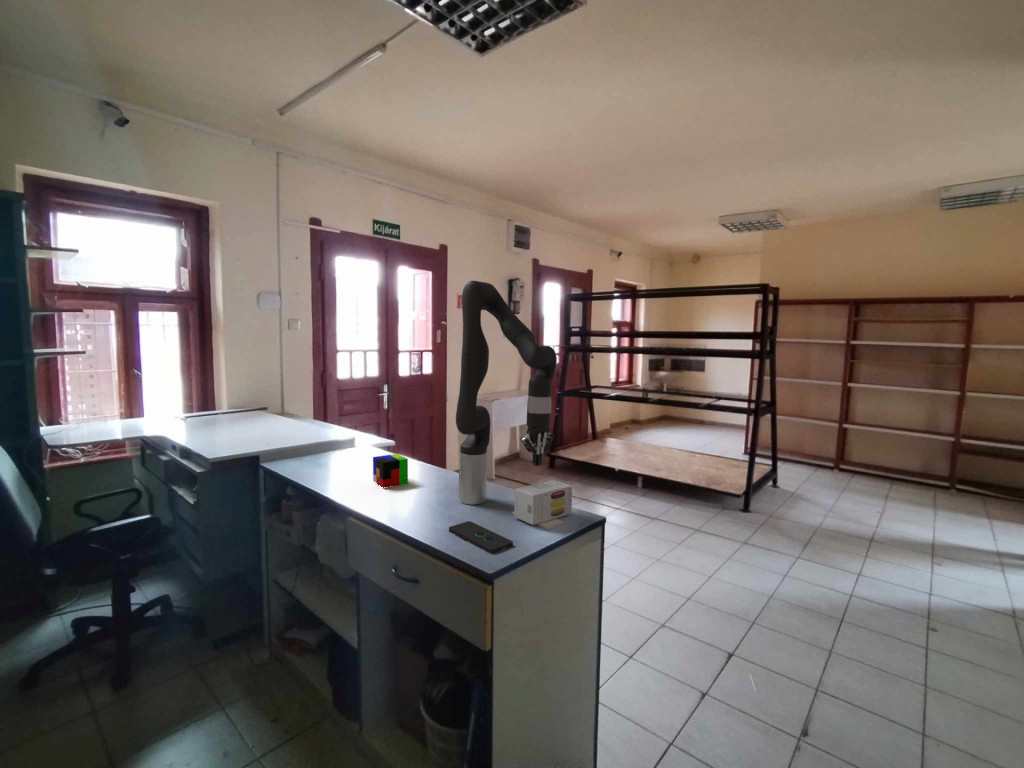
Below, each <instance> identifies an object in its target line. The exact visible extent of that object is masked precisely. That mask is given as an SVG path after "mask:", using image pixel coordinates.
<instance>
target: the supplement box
mask: <svg viewBox="0 0 1024 768" xmlns="http://www.w3.org/2000/svg"><path fill="white" fill-rule="evenodd" d="M572 507H573V486H572V485H570V484H567V483H563V482H561V481H558V480H554V479H552V480H547V481H544V482H543V481H542V482H539V483H534V484H529V485H525V486H521V487H517V488H514V511H515V513H514V514H513V515H514V518H516V519H519V520H520V521H523V522H525V523H527V524H529V525H532V526H533V525H536V524H538V523H541V522H544V521H548V520H551V519H554V518H555V519H558V518H561V517H564V516H567V515H570V514H572V513H573V511H572V509H573V508H572Z"/></svg>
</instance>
